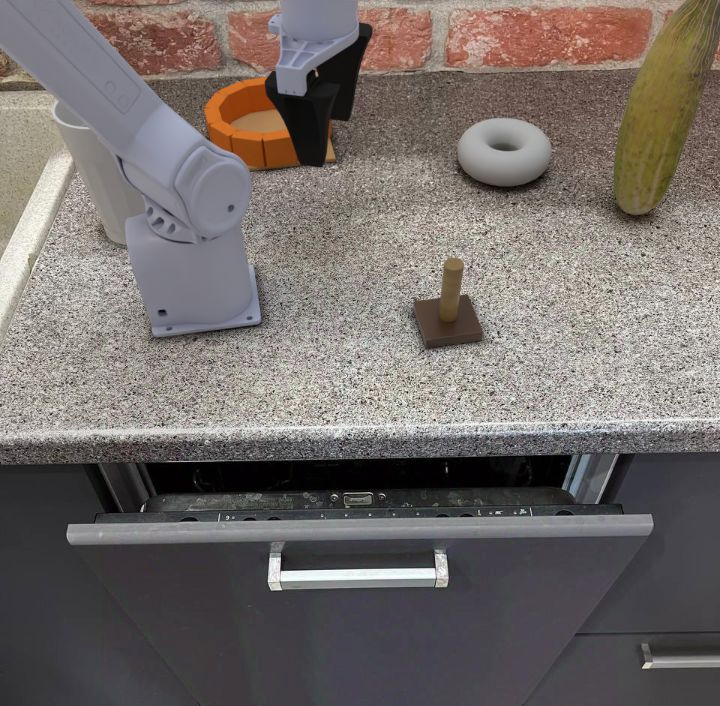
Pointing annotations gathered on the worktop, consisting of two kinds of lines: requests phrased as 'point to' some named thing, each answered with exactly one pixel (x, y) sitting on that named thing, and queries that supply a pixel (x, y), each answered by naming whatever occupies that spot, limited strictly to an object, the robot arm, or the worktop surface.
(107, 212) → the cup
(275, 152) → the ring
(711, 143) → the worktop surface
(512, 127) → the donut
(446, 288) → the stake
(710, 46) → the vegetable
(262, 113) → the mat
